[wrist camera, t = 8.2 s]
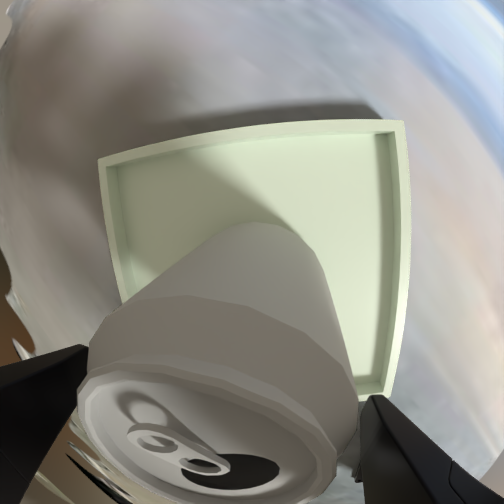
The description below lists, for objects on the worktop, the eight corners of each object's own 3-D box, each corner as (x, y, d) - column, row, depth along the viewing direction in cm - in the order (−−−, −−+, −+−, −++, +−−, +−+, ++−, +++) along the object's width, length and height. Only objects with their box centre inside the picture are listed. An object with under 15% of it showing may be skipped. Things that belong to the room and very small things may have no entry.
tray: (383, 379, 18) (389, 397, 16) (163, 381, 20) (153, 397, 18) (391, 126, 13) (403, 120, 12) (115, 159, 16) (97, 159, 14)
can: (247, 359, 17) (197, 530, 6) (171, 269, 17) (22, 394, 5) (349, 298, 16) (412, 486, 4) (270, 190, 15) (190, 234, 3)
